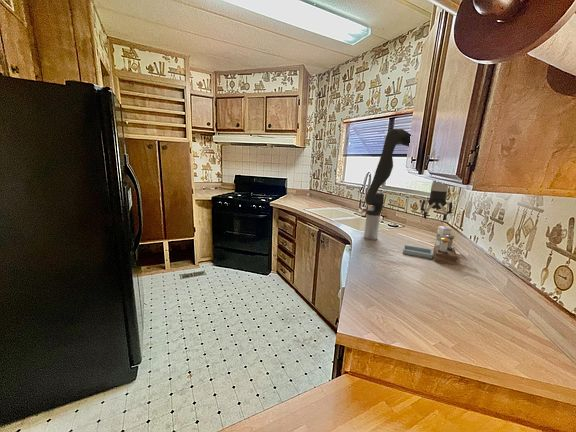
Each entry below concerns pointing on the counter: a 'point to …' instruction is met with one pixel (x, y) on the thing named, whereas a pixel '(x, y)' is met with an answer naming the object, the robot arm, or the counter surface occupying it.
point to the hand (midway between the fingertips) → (434, 219)
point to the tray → (417, 251)
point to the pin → (450, 241)
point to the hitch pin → (444, 245)
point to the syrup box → (442, 234)
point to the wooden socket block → (445, 256)
